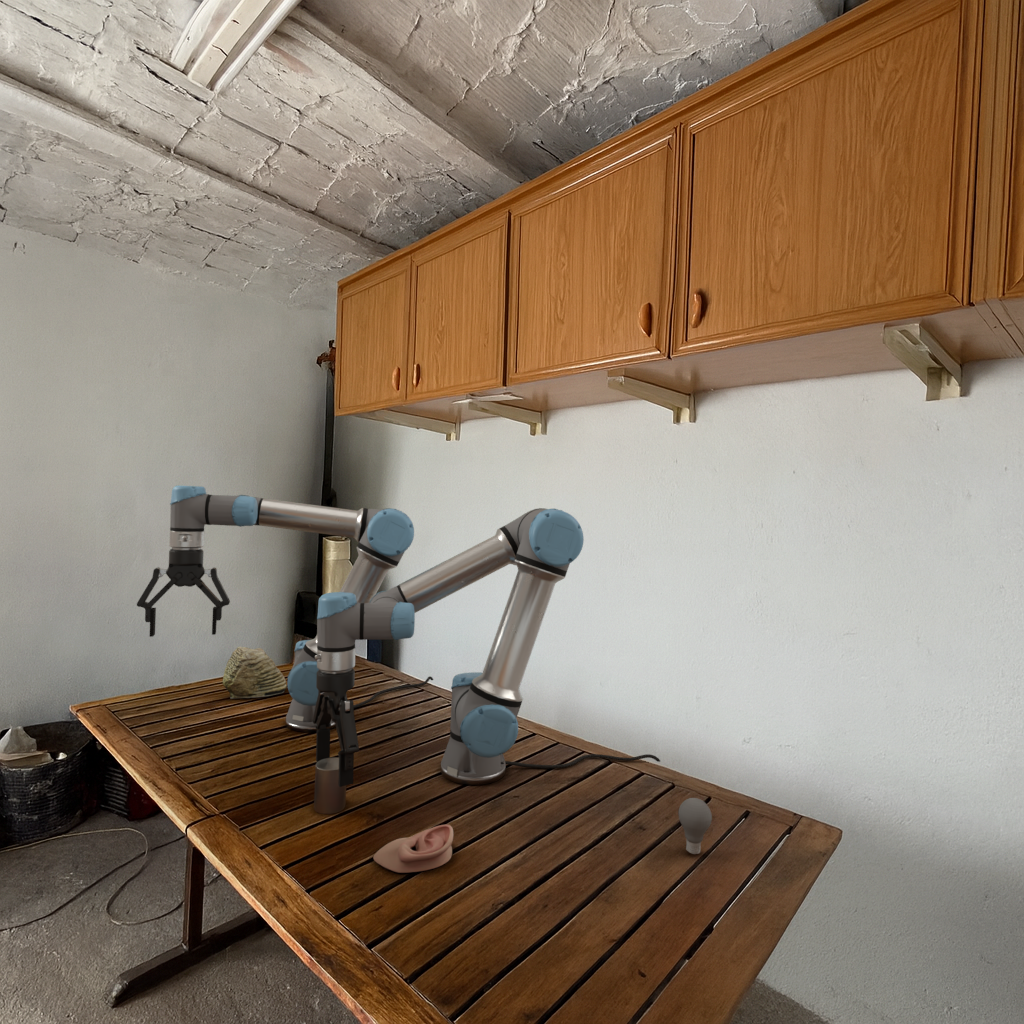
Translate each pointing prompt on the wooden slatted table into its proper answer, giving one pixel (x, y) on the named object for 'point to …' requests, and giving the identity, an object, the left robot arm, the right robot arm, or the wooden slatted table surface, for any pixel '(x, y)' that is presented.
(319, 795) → the can
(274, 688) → the fossil
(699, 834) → the light bulb
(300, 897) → the wooden slatted table surface
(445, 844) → the anatomical model
